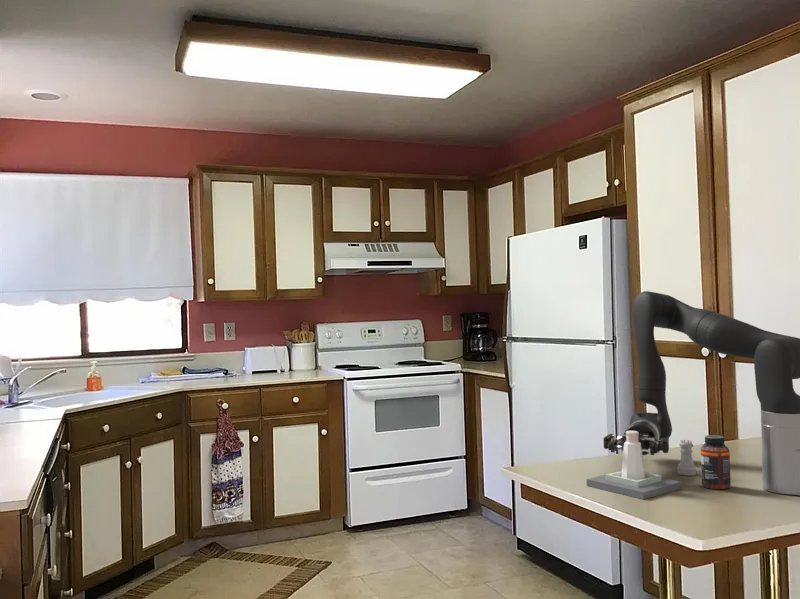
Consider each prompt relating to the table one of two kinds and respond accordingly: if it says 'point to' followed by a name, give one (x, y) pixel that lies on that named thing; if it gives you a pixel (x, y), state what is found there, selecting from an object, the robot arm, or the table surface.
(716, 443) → the supplement bottle
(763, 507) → the table surface
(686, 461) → the rook chess piece
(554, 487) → the table surface
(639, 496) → the baseplate
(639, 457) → the pepper shaker
